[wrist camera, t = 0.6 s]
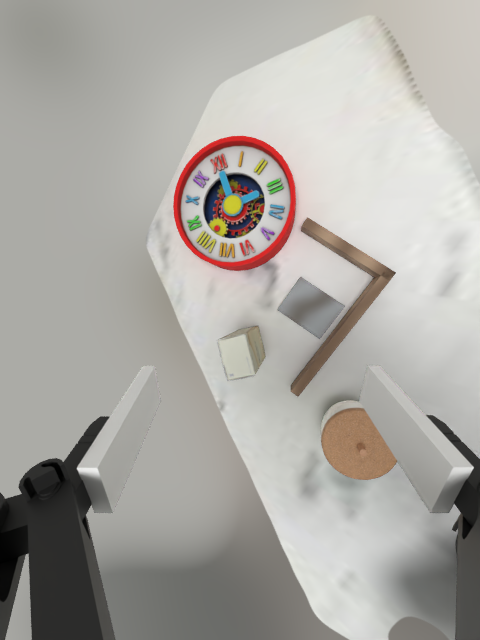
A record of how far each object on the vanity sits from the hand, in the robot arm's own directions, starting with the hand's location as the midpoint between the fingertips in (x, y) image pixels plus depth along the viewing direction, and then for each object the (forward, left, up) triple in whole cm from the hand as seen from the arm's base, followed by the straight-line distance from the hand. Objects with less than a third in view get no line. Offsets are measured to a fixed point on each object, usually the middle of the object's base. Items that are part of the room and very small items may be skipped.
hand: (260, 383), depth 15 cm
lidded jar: (-19, +7, -30) cm, 36 cm away
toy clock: (+18, -12, -30) cm, 37 cm away
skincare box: (+3, +6, -30) cm, 31 cm away
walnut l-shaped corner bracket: (-1, -4, -30) cm, 30 cm away
